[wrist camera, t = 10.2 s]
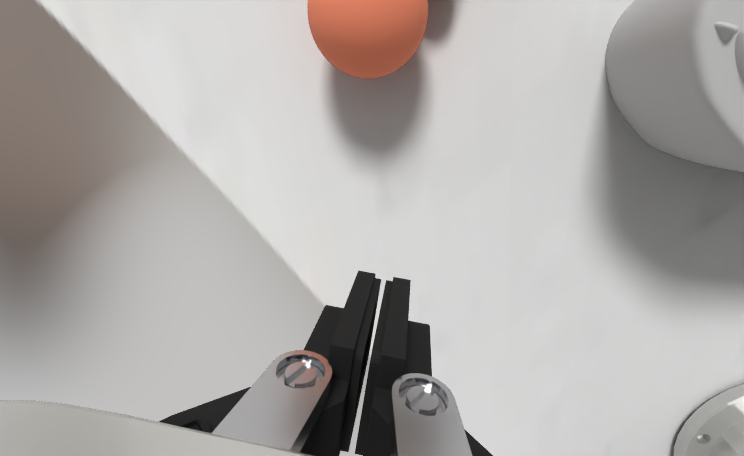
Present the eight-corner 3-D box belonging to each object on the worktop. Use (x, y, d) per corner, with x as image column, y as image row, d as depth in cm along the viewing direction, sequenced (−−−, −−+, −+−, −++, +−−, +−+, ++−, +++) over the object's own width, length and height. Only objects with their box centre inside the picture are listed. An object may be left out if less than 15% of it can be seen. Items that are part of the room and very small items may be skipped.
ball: (431, -104, 16) (467, 41, 19) (356, -51, 21) (394, 58, 23) (322, -63, 14) (382, 94, 17) (266, -14, 18) (321, 101, 21)
